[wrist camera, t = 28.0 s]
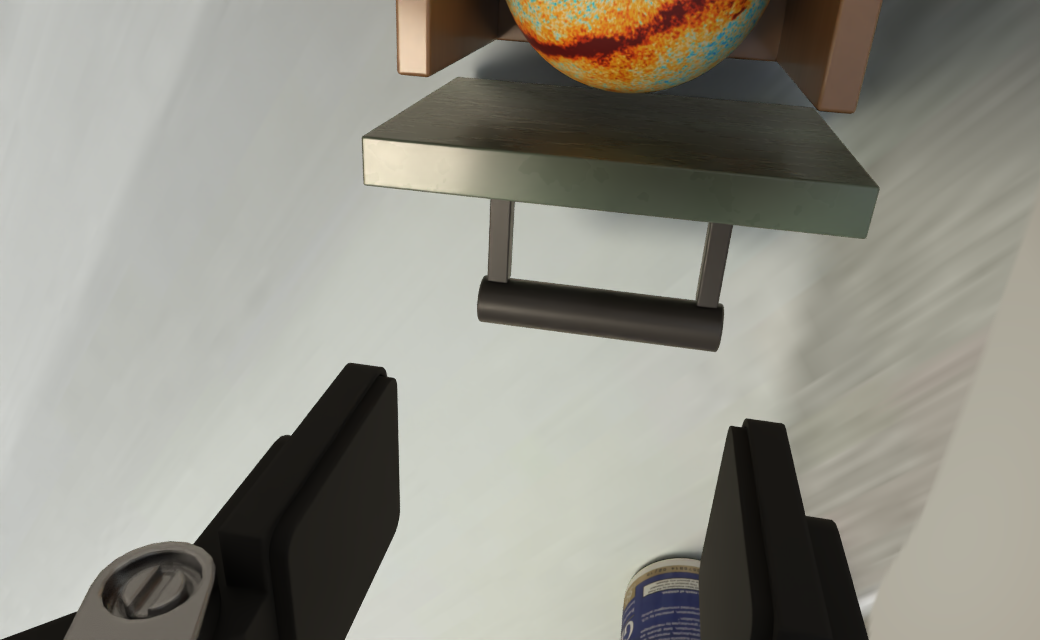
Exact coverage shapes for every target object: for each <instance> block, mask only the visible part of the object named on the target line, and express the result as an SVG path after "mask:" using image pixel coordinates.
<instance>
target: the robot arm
mask: <svg viewBox="0 0 1040 640" xmlns="http://www.w3.org/2000/svg"><path fill="white" fill-rule="evenodd" d="M399 515H400V489H399V445H398V400H397V382H396V379H395V378H391V377H387V373H386V370H385V369H384V368H383V367H377V366H370V365H363V364H356V363H348V364H347V365H346V366H345V367H344V368H343V370H342V371H341V372H340V374H339V375H338V376H337V377H336V379H335V380H334V381H333V383H332V384H331V385H330V386H329V388H328V389H327V390H326V392H325V393H324V394H323V395H322V397H321V398H320V399H319V401H318V402H317V403H316V404H315V406H314V407H313V408H312V410H311V411H310V412H309V413H308V415H307V416H306V417H305V419H304V420H303V421H302V422H301V424H300V425H299V426H298V428H297V429H296V430H295V432H294V433H293V434H292V435H291V436H290V435H284V436H281V437H280V438H279V439H278V440H277V441H276V442H275V443H274V444H273V445H272V446H271V448H270V449H269V450H268V451H267V453H266V454H265V455H264V456H263V458H262V459H261V460H260V461H259V463H258V464H257V465H256V466H255V468H254V469H253V470H252V471H251V473H250V474H249V475H248V476H247V478H246V479H245V480H244V481H243V483H242V484H241V485H240V486H239V488H238V489H237V490H236V491H235V493H234V494H233V495H232V496H231V498H230V499H229V500H228V501H227V503H226V504H225V505H224V506H223V508H222V509H221V510H220V511H219V513H218V514H217V515H216V516H215V518H214V519H213V520H212V521H211V523H210V524H209V525H208V526H207V528H206V529H205V530H204V531H203V533H202V534H201V535H200V536H199V538H198V539H197V540H196V541H195V543H194V544H190V543H187V542H174V541H169V542H161V543H154V544H150V545H147V546H144V547H141V548H137V549H134V550H132V551H130V552H128V553H126V554H125V555H123V556H121V557H119V558H117V559H115V560H114V561H113V562H112V563H111V564H109V565H108V566H107V567H106V568H105V569H103V570H102V571H101V572H100V573H99V575H98V576H97V578H96V579H95V580H94V582H93V583H92V585H91V586H90V588H89V590H88V592H87V594H86V596H85V598H84V600H83V602H82V604H81V606H80V608H79V610H78V611H77V612H74V613H72V614H69V615H66V616H63V617H61V618H58V619H55V620H53V621H50V622H47V623H45V624H42V625H39V626H37V627H34V628H31V629H28V630H26V631H23V632H20V633H18V634H15V635H12V636H10V637H7V638H4V639H2V640H345V638H346V636H347V634H348V631H349V629H350V627H351V625H352V623H353V621H354V619H355V617H356V615H357V612H358V610H359V608H360V606H361V604H362V602H363V600H364V598H365V596H366V593H367V591H368V589H369V587H370V585H371V583H372V581H373V579H374V577H375V574H376V572H377V570H378V568H379V566H380V564H381V562H382V560H383V558H384V555H385V553H386V551H387V549H388V547H389V545H390V543H391V541H392V539H393V536H394V534H395V532H396V529H397V526H398V521H399ZM699 610H700V638H701V640H869V639H868V636H867V632H866V629H865V625H864V621H863V618H862V614H861V610H860V607H859V603H858V600H857V596H856V592H855V589H854V585H853V581H852V578H851V574H850V571H849V567H848V563H847V560H846V556H845V552H844V549H843V545H842V542H841V538H840V534H839V531H838V528H837V526H836V523H834V522H833V521H832V520H829V519H822V518H816V517H809V516H805V511H804V507H803V503H802V498H801V494H800V489H799V485H798V480H797V476H796V472H795V467H794V463H793V458H792V454H791V449H790V445H789V441H788V436H787V432H786V428H785V425H784V424H782V423H775V422H768V421H761V420H754V419H747V418H746V419H745V420H744V422H743V425H742V427H735V426H730V427H729V430H728V433H727V438H726V442H725V447H724V452H723V457H722V461H721V466H720V471H719V476H718V480H717V485H716V490H715V495H714V499H713V504H712V509H711V514H710V518H709V523H708V528H707V533H706V537H705V542H704V547H703V552H702V556H701V562H700V569H699Z"/></svg>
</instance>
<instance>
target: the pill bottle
mask: <svg viewBox="0 0 1040 640" xmlns="http://www.w3.org/2000/svg"><path fill="white" fill-rule="evenodd" d="M700 562H701V561H699V560H694V559H687V558H674V559H666V560H662V561H658V562H655V563H653V564H650V565H648V566H646V567H645V568H643V569H642V570H640V571H639V572H638V573H637V574H636V575H635V576H634V577H633V578H632V580H631V581H630V583H629V584H628V587H627V590H626V593H625V598H624V606H623V616H622V629H621V640H701V638H700V610H699V569H700Z"/></svg>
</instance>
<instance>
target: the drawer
mask: <svg viewBox="0 0 1040 640" xmlns="http://www.w3.org/2000/svg"><path fill="white" fill-rule="evenodd" d="M882 1H883V0H770V2H769V4H768V6H767V7H766V9H765V11H764V13H763V14H762V16H761V18H760V19H759V21H758V22H757V24H756V25H755V27H754V28H753V29H752V31H751V32H750V33H749V35H748V36H747V37H746V38H745V39H744V41H743V42H742V43H741V44H740V45H739V46H738V47H737V48H736V49H735V50H734V51H733V52H732V53H731V54H730V55H729V56H727V57H726V58H735V59H748V60H760V61H773V62H778V64H779V65H780V66H781V67H782V68H783V70H784V71H785V72H786V73H787V74H788V76H789V77H790V78H791V79H792V80H793V82H794V83H795V84H796V85H797V86H798V88H799V89H800V90H801V91H802V92H803V93H804V95H805V96H806V97H807V98H808V99H809V101H810V102H811V103H812V104H813V105H814V107H815V108H816V109H817V110H819V111H824V112H836V113H847V114H851V113H854V112H855V110H856V107H857V103H858V99H859V95H860V91H861V87H862V83H863V79H864V75H865V71H866V67H867V63H868V59H869V54H870V50H871V46H872V42H873V38H874V34H875V30H876V26H877V22H878V18H879V14H880V10H881V6H882ZM396 28H397V71H398V73H399V74H401V75H409V76H420V77H429V76H431V75H433V74H435V73H436V72H438V71H440V70H442V69H444V68H446V67H447V66H449V65H451V64H453V63H455V62H456V61H458V60H460V59H462V58H464V57H465V56H467V55H469V54H471V53H473V52H475V51H476V50H478V49H480V48H482V47H484V46H485V45H487V44H489V43H491V42H493V41H494V40H506V41H519V42H528V41H527V39H526V38H525V36H524V35H523V33H522V32H521V30H520V29H519V27H518V25H517V24H516V22H515V20H514V18H513V16H512V14H511V12H510V9H509V7H508V5H507V2H506V0H396ZM362 154H363V179H364V185H367V186H376V187H385V188H395V189H404V190H413V191H422V192H432V193H441V194H450V195H460V196H469V197H478V198H488V199H491V200H490V227H489V254H488V275H486V276H484V277H483V279H482V281H481V285H480V289H479V294H478V302H477V315H478V319H479V321H481V322H488V323H495V324H503V325H511V326H519V327H526V328H534V329H542V330H549V331H557V332H565V333H572V334H580V335H588V336H596V337H603V338H611V339H619V340H626V341H634V342H642V343H649V344H657V345H665V346H672V347H680V348H688V349H696V350H703V351H711V352H716V351H717V350H718V348H719V345H720V341H721V336H722V330H723V321H724V307H723V305H722V304H720V303H719V297H720V292H721V287H722V281H723V276H724V270H725V265H726V260H727V254H728V249H729V244H730V238H731V233H732V228H733V225H739V226H748V227H757V228H766V229H776V230H785V231H794V232H804V233H813V234H822V235H832V236H841V237H850V238H859V239H865V238H866V237H867V234H868V230H869V226H870V223H871V219H872V215H873V212H874V208H875V204H876V200H877V197H878V193H879V186H878V185H877V184H876V183H875V181H874V180H873V179H872V178H871V177H870V175H869V174H868V173H867V172H866V171H865V169H864V168H863V167H862V166H861V165H860V163H859V162H858V161H857V160H856V158H855V157H854V156H853V155H852V154H851V152H850V151H849V150H848V149H847V148H846V146H845V145H844V144H843V143H842V142H841V140H840V139H839V138H838V137H837V135H836V134H835V133H834V132H833V131H832V129H831V128H830V127H829V126H828V125H827V123H826V122H825V121H824V120H823V119H822V117H821V116H820V115H819V114H818V112H817V111H816V110H815V109H814V108H812V107H801V106H789V105H777V104H766V103H754V102H743V101H731V100H719V99H708V98H696V97H684V96H673V95H661V94H650V93H617V92H610V91H605V90H601V89H592V88H580V87H568V86H557V85H545V84H533V83H522V82H510V81H499V80H487V79H475V78H464V77H456V78H455V79H453V80H452V81H450V82H448V83H447V84H445V85H444V86H442V87H441V88H439V89H437V90H436V91H434V92H433V93H431V94H429V95H428V96H426V97H425V98H423V99H421V100H420V101H418V102H417V103H415V104H413V105H412V106H410V107H409V108H407V109H405V110H404V111H402V112H401V113H399V114H397V115H396V116H394V117H393V118H391V119H389V120H388V121H386V122H385V123H383V124H381V125H380V126H378V127H377V128H375V129H373V130H372V131H370V132H369V133H367V134H365V135H364V136H362ZM515 202H525V203H534V204H543V205H553V206H562V207H571V208H580V209H590V210H599V211H608V212H618V213H627V214H636V215H646V216H655V217H664V218H673V219H683V220H692V221H701V222H709V223H708V228H707V234H706V240H705V246H704V252H703V258H702V263H701V269H700V275H699V281H698V287H697V293H696V301H695V300H687V299H679V298H670V297H662V296H654V295H646V294H637V293H629V292H621V291H613V290H605V289H596V288H588V287H580V286H572V285H563V284H555V283H547V282H539V281H530V280H522V279H514V278H510V276H511V265H512V245H513V226H514V207H515Z"/></svg>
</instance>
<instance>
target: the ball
mask: <svg viewBox="0 0 1040 640" xmlns="http://www.w3.org/2000/svg"><path fill="white" fill-rule="evenodd" d="M506 2H507V5H508V7H509V9H510V12H511V14H512V16H513V18H514V20H515V22H516V24H517V25H518V27H519V29H520V30H521V32H522V33H523V35H524V36H525V38H526V39H527V41H528V42H529V43H530V44H531V46H532V47H533V48H534V49H535V50H536V51H537V52H538V53H539V54H540V55H541V56H542V57H543V58H544V59H545V60H546V61H547V62H548V63H549V64H551V65H552V66H553V67H555V68H556V69H557V70H559V71H560V72H562V73H563V74H565V75H567V76H568V77H570V78H572V79H574V80H576V81H578V82H580V83H583V84H585V85H588V86H590V87H594V88H597V89H601V90H605V91H610V92H617V93H648V92H655V91H660V90H664V89H668V88H672V87H675V86H678V85H681V84H683V83H686V82H688V81H690V80H692V79H695V78H696V77H698V76H700V75H702V74H704V73H705V72H707V71H709V70H710V69H712V68H713V67H715V66H716V65H717V64H719V63H720V62H721V61H723V60H724V59H725V58H726V57H727V56H729V55H730V54H731V53H732V52H733V51H734V50H735V49H736V48H737V47H738V46H739V45H740V44H741V43H742V42H743V41H744V39H745V38H746V37H747V36H748V35H749V33H750V32H751V31H752V29H753V28H754V27H755V25H756V24H757V22H758V21H759V19H760V18H761V16H762V14H763V13H764V11H765V9H766V7H767V6H768V4H769V2H770V0H506Z"/></svg>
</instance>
